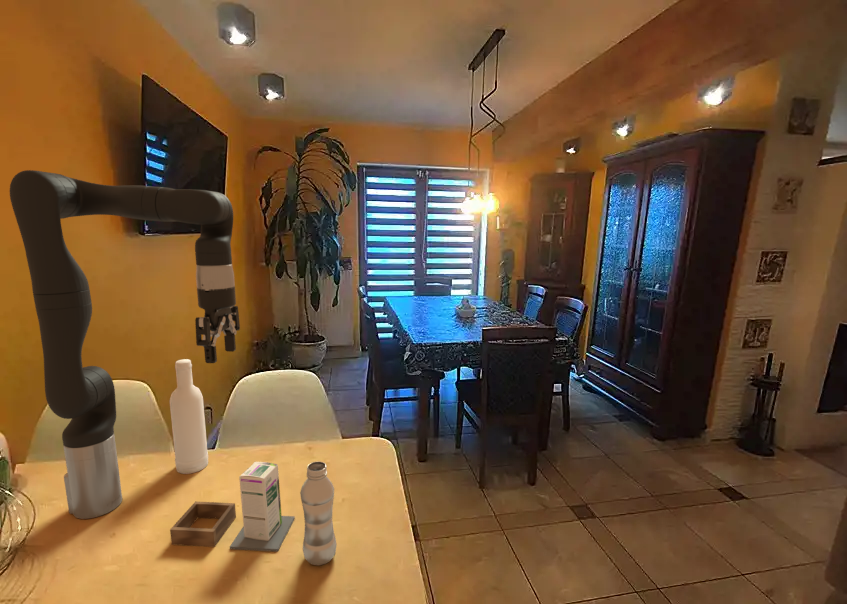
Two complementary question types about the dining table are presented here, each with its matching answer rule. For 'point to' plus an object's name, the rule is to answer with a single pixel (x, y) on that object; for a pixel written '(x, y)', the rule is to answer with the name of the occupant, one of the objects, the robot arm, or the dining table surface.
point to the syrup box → (260, 500)
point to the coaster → (262, 545)
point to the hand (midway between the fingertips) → (221, 356)
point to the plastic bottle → (318, 515)
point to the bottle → (188, 422)
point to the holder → (201, 536)
